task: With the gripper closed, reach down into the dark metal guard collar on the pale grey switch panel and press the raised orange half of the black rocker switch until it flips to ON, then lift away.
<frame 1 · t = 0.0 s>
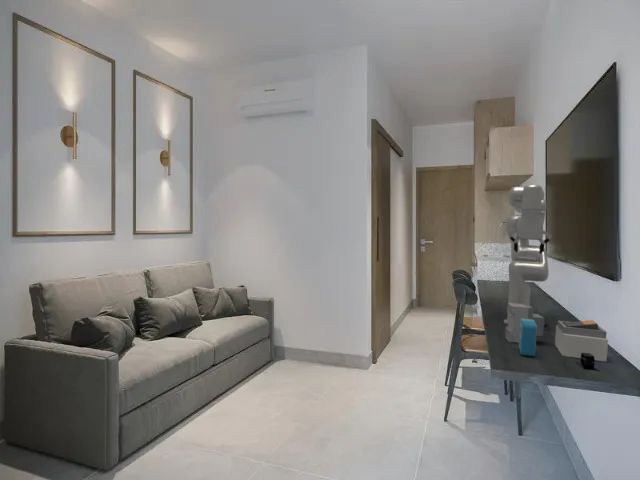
hand: (528, 252, 182), 37 cm above the table, tool pointing down, fingers open, 9 cm apart
rocker: (580, 325, 161), point 11 cm above the table, hinge at 12.0°
switch panel: (579, 352, 161), on the table
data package: (526, 353, 158), on the table
black slotted block: (586, 367, 145), on the table
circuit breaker: (525, 341, 174), on the table
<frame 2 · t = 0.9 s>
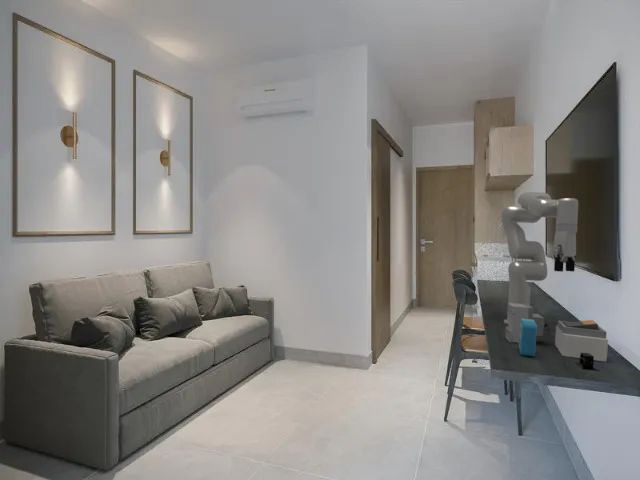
hand: (564, 271, 168), 31 cm above the table, tool pointing down, fingers open, 9 cm apart
nothing on the table moved.
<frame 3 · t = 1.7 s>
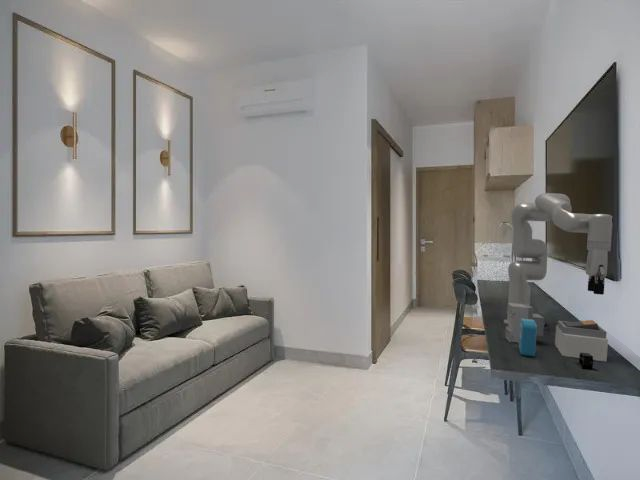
hand: (595, 292, 159), 24 cm above the table, tool pointing down, fingers open, 7 cm apart
nothing on the table moved.
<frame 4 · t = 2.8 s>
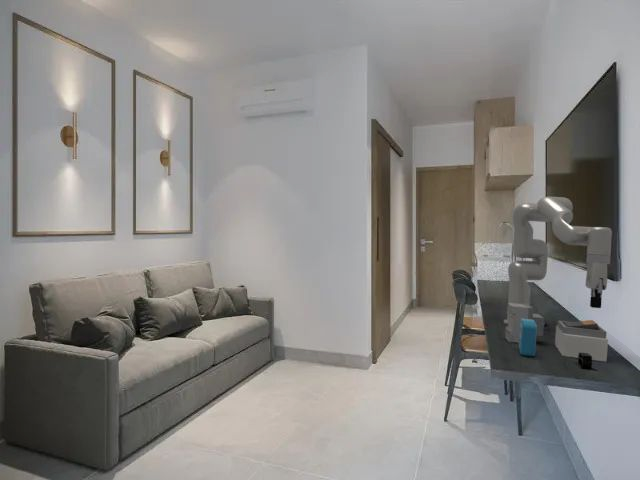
hand: (595, 307, 158), 18 cm above the table, tool pointing down, fingers closed
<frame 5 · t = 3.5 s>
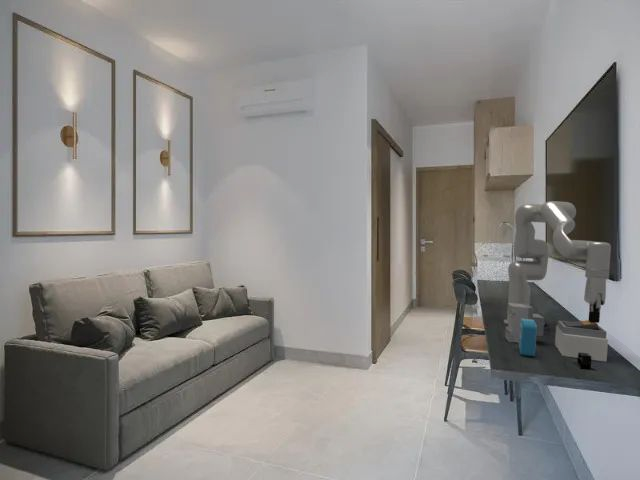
hand: (593, 321, 159), 13 cm above the table, tool pointing down, fingers closed
rocker: (580, 325, 161), point 11 cm above the table, hinge at 12.0°, touching gripper
everything else where it was.
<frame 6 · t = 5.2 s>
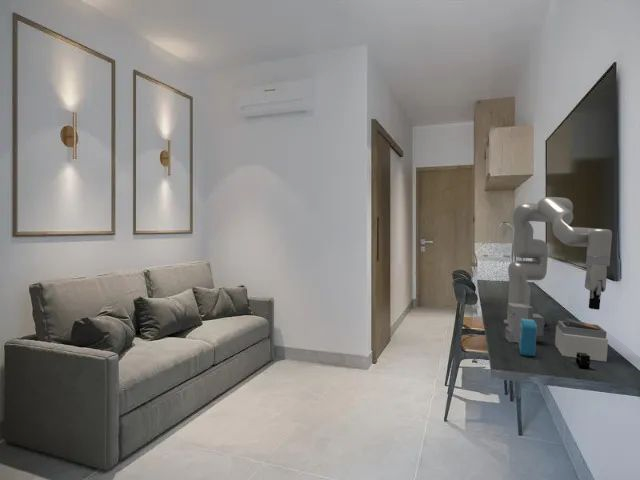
hand: (594, 308, 159), 18 cm above the table, tool pointing down, fingers closed
rocker: (581, 325, 161), point 11 cm above the table, hinge at -10.9°
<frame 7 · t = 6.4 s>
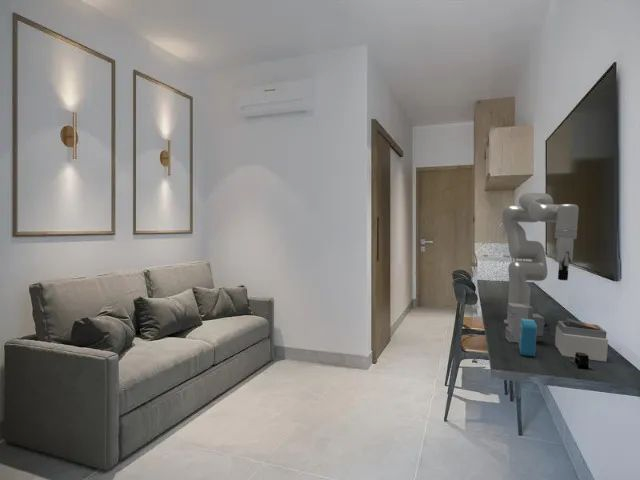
hand: (562, 279, 169), 27 cm above the table, tool pointing down, fingers closed
rocker: (581, 325, 161), point 11 cm above the table, hinge at -11.4°
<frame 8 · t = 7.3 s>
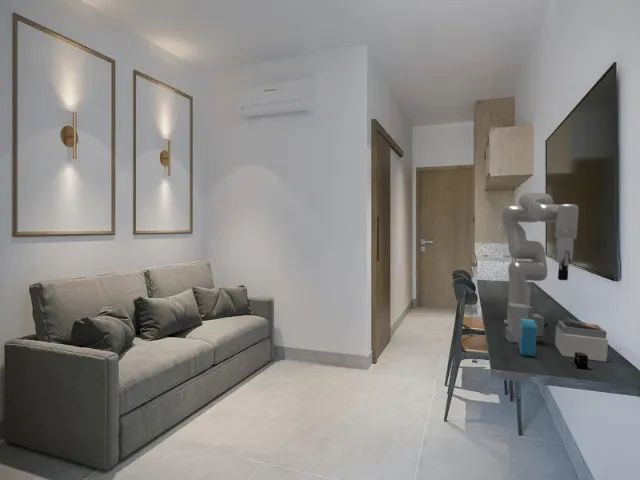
hand: (562, 279, 169), 27 cm above the table, tool pointing down, fingers closed
at the end: rocker at -12° (first picture: +12°) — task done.
